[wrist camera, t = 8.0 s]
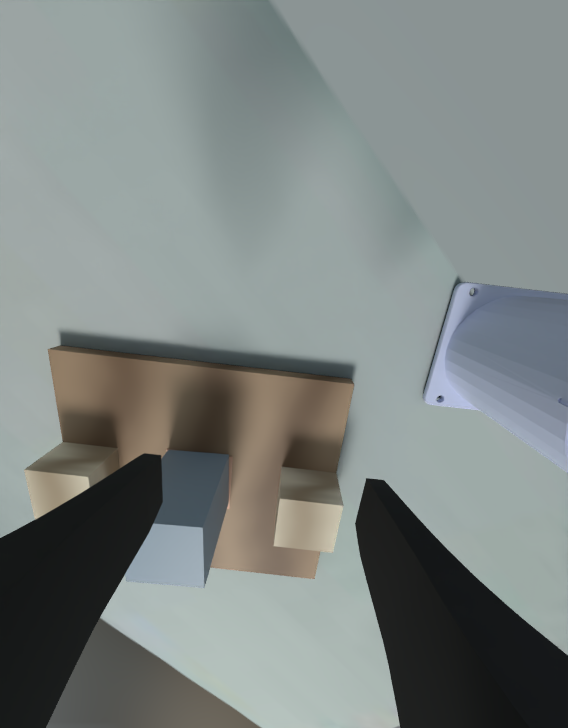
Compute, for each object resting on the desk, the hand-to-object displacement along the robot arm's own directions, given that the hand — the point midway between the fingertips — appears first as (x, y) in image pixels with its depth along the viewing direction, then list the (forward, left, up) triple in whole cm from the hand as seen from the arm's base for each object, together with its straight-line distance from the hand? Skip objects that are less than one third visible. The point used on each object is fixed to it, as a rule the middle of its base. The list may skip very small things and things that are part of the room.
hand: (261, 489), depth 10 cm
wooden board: (+5, +8, -10) cm, 14 cm away
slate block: (+5, +8, -9) cm, 13 cm away
